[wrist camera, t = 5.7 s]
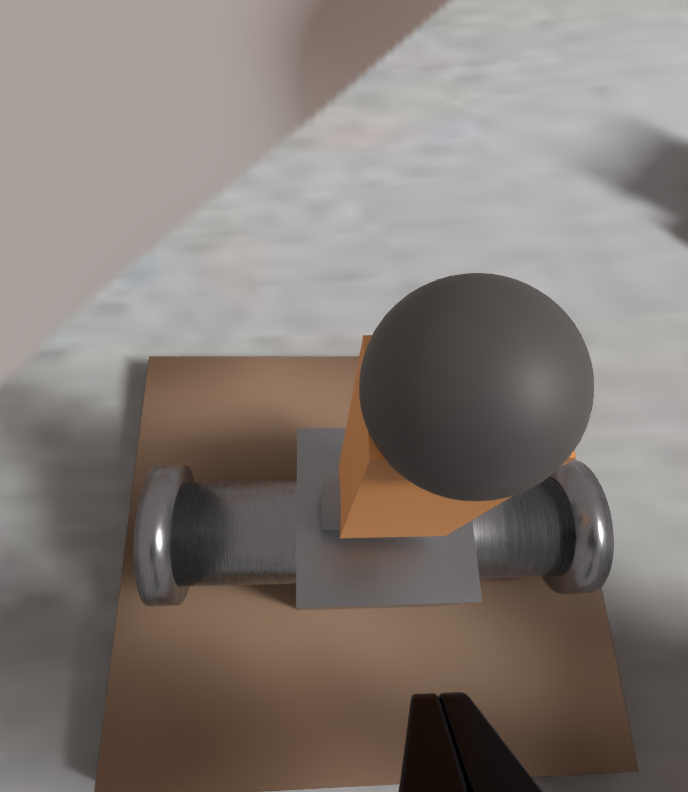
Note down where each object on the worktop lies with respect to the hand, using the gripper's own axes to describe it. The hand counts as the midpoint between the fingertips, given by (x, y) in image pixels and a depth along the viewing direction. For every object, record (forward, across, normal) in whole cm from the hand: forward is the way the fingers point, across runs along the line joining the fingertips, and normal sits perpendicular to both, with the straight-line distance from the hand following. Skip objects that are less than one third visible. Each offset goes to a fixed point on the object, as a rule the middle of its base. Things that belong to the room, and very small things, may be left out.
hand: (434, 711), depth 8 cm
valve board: (+10, 0, +5) cm, 11 cm away
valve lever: (+5, 0, -1) cm, 5 cm away
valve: (+9, 0, +4) cm, 10 cm away
